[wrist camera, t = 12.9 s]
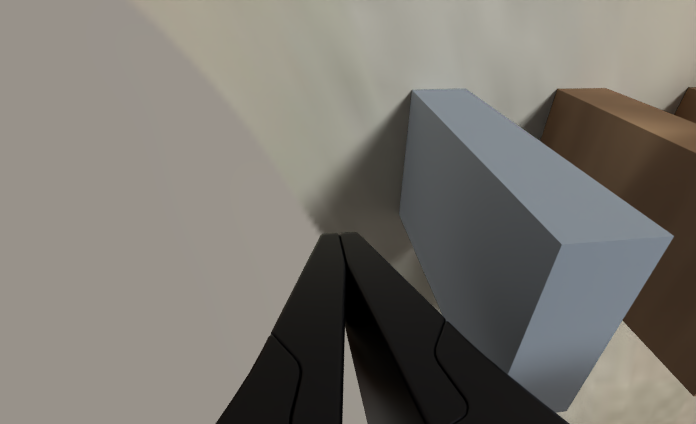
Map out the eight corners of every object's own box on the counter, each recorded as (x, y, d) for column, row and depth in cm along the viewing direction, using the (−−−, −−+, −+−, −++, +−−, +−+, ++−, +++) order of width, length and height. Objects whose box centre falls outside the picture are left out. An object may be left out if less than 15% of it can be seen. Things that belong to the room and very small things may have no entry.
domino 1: (465, 88, 12) (674, 236, 6) (443, 211, 15) (566, 410, 8) (411, 89, 12) (562, 244, 5) (399, 214, 15) (488, 421, 8)
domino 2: (606, 88, 13) (942, 220, 6) (558, 206, 15) (760, 387, 9) (557, 88, 13) (853, 226, 6) (518, 208, 15) (693, 396, 9)
